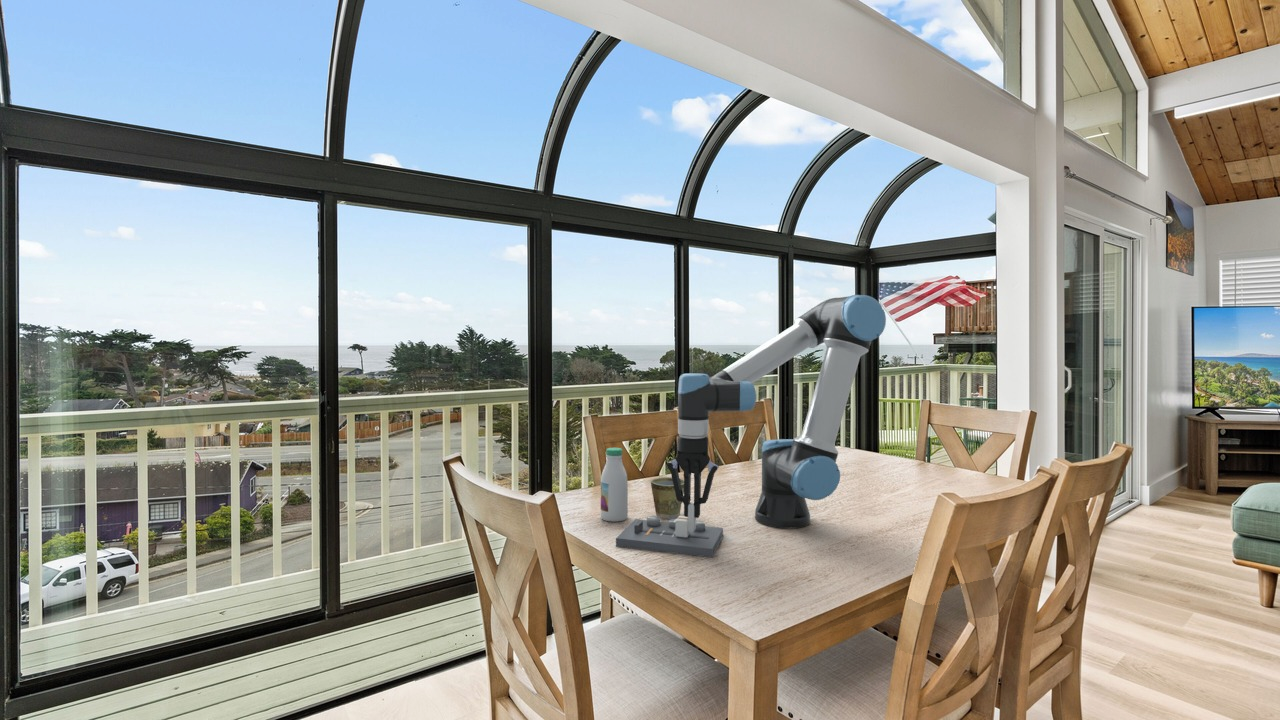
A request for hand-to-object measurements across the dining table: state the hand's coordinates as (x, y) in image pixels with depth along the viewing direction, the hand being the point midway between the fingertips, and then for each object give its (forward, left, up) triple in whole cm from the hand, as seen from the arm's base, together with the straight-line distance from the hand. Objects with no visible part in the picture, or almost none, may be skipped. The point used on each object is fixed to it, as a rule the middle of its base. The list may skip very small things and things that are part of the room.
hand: (691, 529), depth 145 cm
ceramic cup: (+12, -23, -4) cm, 26 cm away
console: (+6, -1, -4) cm, 7 cm away
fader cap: (+2, 0, -1) cm, 3 cm away
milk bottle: (+26, -14, -4) cm, 30 cm away
